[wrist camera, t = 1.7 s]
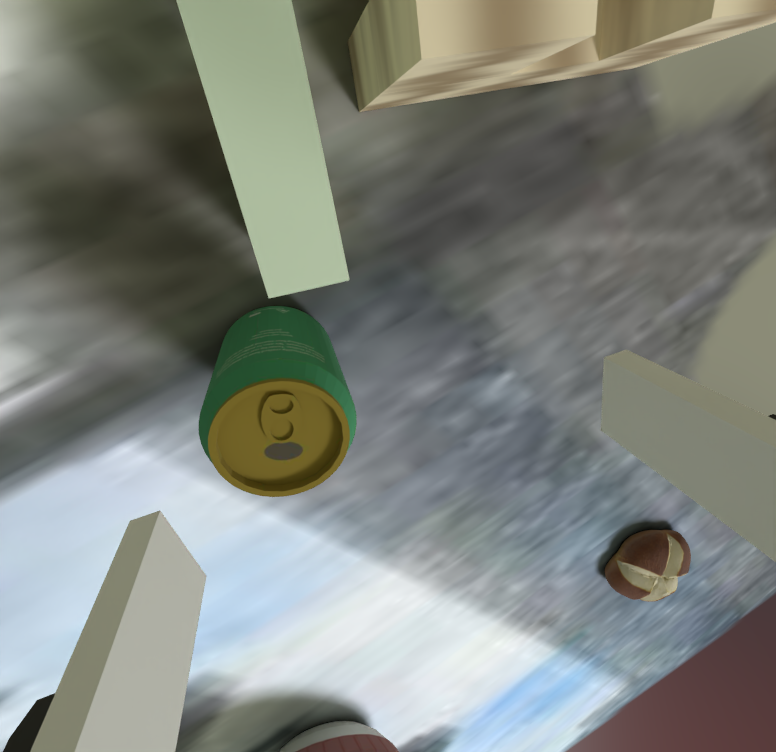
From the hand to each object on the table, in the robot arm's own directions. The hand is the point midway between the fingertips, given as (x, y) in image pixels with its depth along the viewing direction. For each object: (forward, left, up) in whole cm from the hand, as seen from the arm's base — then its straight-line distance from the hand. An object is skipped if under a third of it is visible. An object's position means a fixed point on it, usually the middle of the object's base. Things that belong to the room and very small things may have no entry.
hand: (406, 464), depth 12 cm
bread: (+56, -8, -21) cm, 61 cm away
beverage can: (-1, -6, -21) cm, 21 cm away
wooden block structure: (+1, +19, -20) cm, 28 cm away
